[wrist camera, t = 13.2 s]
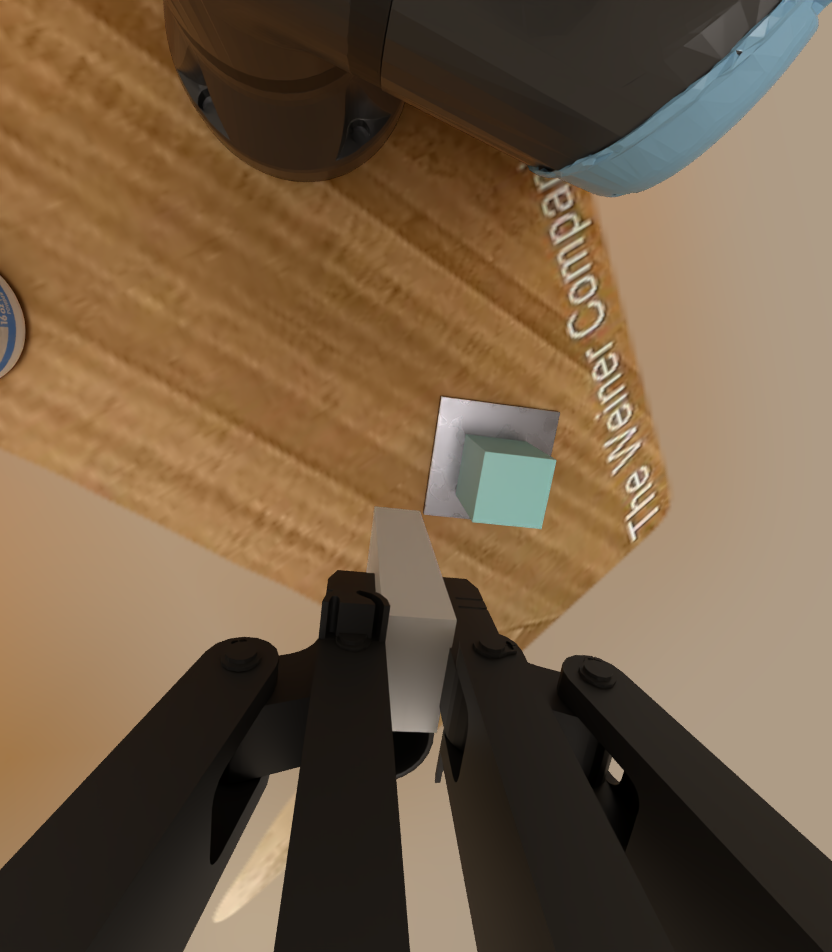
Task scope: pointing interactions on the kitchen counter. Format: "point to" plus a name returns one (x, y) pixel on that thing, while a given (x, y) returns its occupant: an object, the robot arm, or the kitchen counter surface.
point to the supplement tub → (10, 328)
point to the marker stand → (479, 421)
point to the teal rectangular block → (504, 481)
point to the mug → (410, 750)
